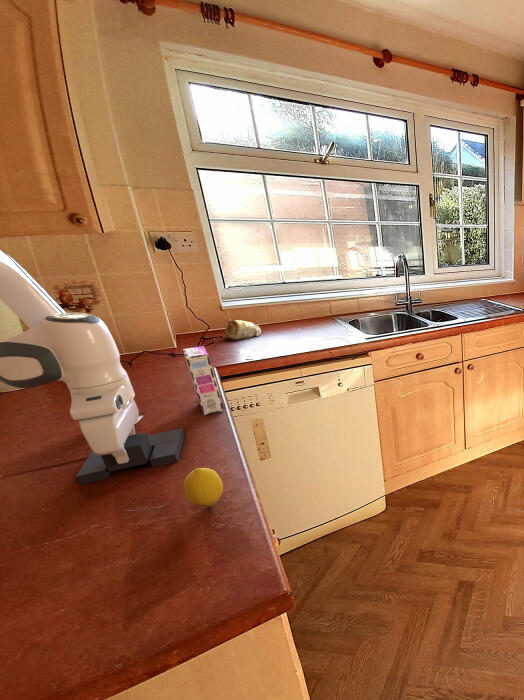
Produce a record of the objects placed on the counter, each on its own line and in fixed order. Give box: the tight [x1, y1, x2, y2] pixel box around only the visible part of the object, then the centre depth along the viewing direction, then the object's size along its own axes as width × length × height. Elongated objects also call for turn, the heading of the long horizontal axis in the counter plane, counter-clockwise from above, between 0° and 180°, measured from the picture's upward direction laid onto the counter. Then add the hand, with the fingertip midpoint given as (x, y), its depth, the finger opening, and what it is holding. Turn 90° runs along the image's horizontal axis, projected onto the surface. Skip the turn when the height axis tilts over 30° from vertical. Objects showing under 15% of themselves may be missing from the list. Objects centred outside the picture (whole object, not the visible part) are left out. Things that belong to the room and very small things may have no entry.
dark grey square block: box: [101, 431, 153, 473], centre depth 90 cm, size 6×6×4 cm
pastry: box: [224, 319, 262, 340], centre depth 187 cm, size 14×12×8 cm
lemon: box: [183, 467, 224, 507], centre depth 76 cm, size 6×6×8 cm
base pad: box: [75, 427, 185, 486], centre depth 93 cm, size 16×14×2 cm
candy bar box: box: [182, 345, 225, 416], centre depth 115 cm, size 11×5×16 cm, turn 40°
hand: (128, 453), depth 90 cm, fingers closed on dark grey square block, 6 cm apart
